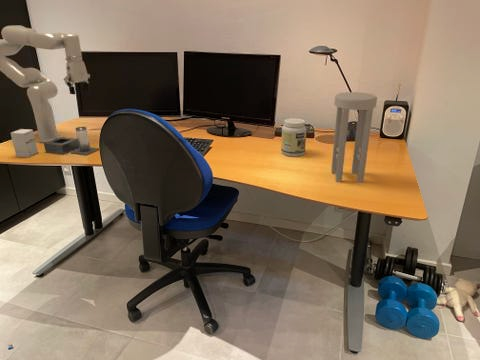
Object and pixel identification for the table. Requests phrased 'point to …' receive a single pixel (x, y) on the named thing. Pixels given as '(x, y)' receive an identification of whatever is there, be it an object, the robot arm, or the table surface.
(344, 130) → the stool
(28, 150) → the supplement box
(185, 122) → the table surface
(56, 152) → the housing
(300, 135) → the supplement tub
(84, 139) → the cover plug
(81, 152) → the mat
